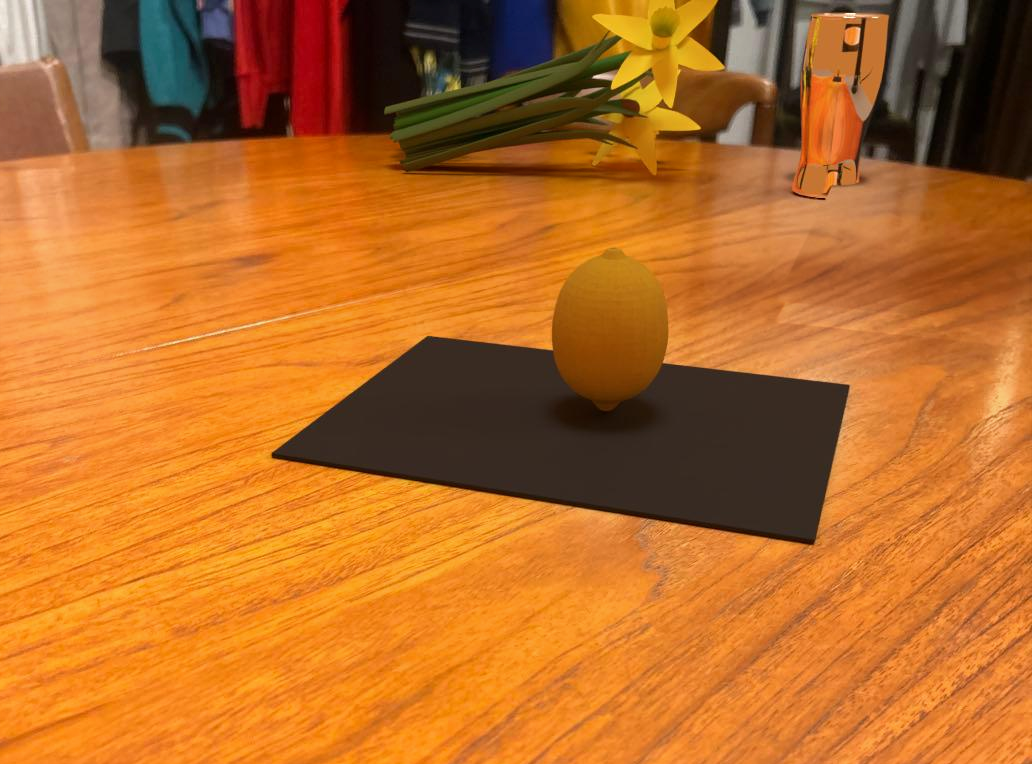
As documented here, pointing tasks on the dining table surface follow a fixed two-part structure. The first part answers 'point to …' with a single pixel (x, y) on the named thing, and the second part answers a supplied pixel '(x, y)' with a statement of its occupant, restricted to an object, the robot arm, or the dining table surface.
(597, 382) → the lemon
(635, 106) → the daffodil flowers
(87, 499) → the dining table surface
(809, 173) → the beer glass
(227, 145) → the dining table surface
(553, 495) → the felt mat
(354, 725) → the dining table surface
